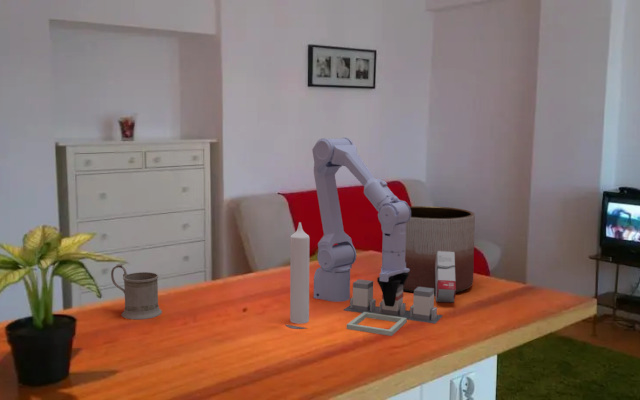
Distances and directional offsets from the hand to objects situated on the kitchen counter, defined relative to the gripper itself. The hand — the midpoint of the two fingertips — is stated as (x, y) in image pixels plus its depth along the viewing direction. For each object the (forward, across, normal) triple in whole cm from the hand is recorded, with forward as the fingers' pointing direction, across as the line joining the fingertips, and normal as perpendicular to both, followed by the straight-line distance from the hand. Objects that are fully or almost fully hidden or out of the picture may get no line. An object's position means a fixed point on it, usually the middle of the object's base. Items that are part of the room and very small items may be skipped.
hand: (392, 303), depth 165 cm
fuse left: (+2, 0, +8) cm, 8 cm away
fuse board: (+3, 0, 0) cm, 3 cm away
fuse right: (+2, 0, -8) cm, 8 cm away
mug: (+4, -26, +60) cm, 65 cm away
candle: (+4, -16, +18) cm, 24 cm away
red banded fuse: (+2, 0, 0) cm, 2 cm away
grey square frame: (+3, -11, 0) cm, 12 cm away
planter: (+4, +34, 0) cm, 35 cm away
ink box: (+1, +13, -10) cm, 17 cm away
